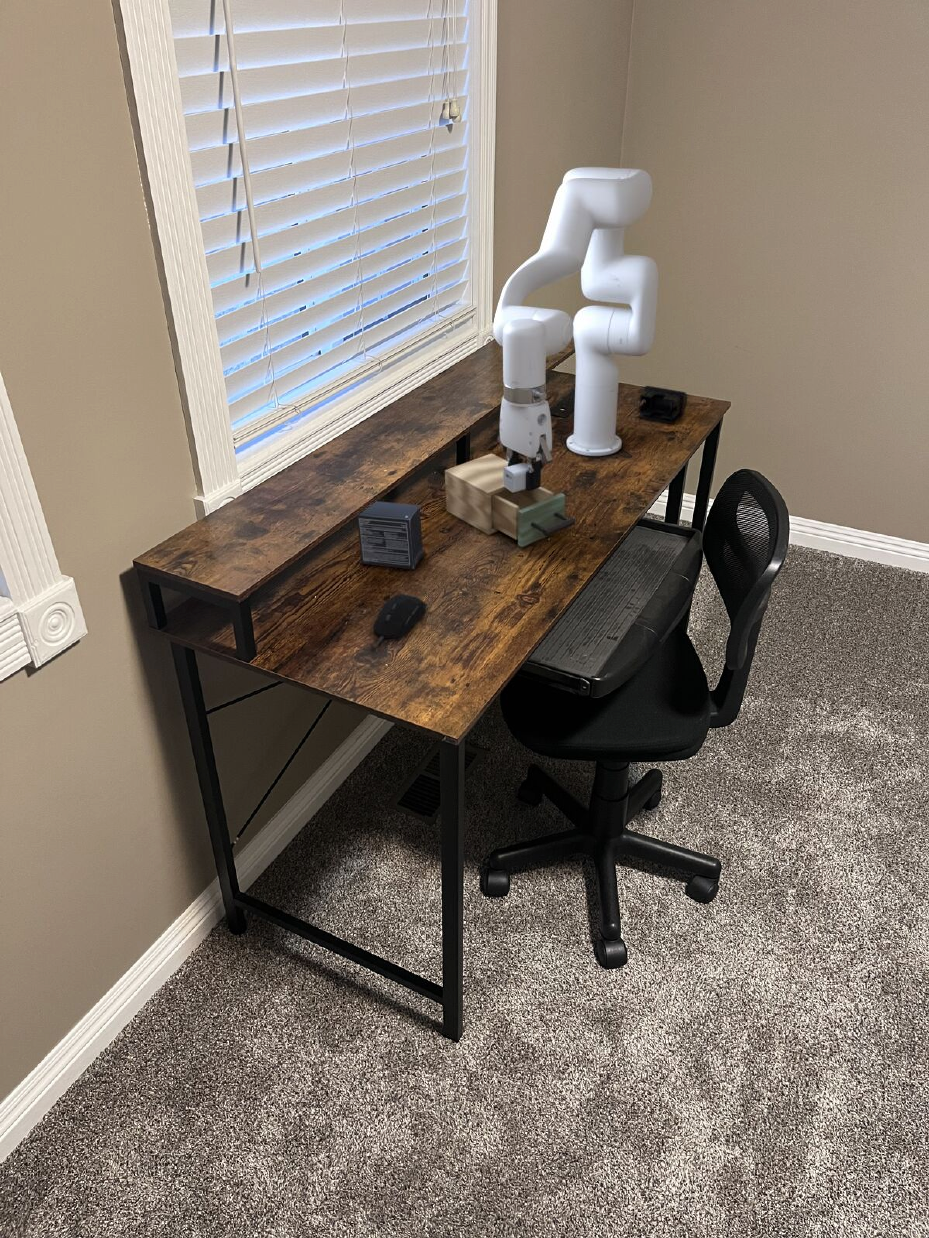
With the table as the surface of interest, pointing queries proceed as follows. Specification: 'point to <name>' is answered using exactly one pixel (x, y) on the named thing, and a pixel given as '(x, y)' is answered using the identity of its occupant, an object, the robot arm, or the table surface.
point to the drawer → (529, 514)
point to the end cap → (662, 404)
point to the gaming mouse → (398, 616)
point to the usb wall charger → (515, 477)
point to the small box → (390, 535)
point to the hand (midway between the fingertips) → (524, 483)
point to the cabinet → (475, 490)
